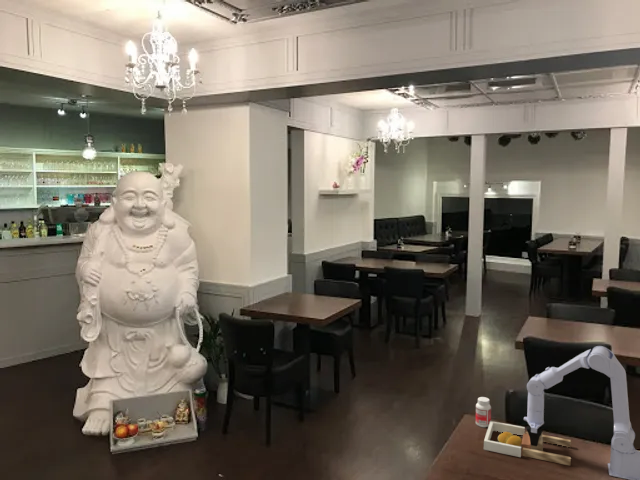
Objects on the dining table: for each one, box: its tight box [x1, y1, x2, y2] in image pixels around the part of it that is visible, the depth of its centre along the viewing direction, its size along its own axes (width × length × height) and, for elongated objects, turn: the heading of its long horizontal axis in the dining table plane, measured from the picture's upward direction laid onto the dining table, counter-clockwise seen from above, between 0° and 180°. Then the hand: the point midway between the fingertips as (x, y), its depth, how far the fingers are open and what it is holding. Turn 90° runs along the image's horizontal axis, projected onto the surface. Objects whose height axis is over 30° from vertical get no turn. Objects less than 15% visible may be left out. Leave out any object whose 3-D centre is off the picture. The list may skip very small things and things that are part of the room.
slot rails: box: [522, 431, 572, 466], centre depth 190 cm, size 16×15×2 cm
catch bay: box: [483, 420, 526, 458], centre depth 197 cm, size 13×18×4 cm
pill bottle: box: [475, 396, 492, 428], centre depth 211 cm, size 6×6×11 cm
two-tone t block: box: [521, 432, 544, 453], centre depth 192 cm, size 7×9×6 cm
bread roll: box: [497, 432, 523, 448], centre depth 196 cm, size 8×9×4 cm
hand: (534, 442), depth 192 cm, fingers closed on two-tone t block, 4 cm apart
